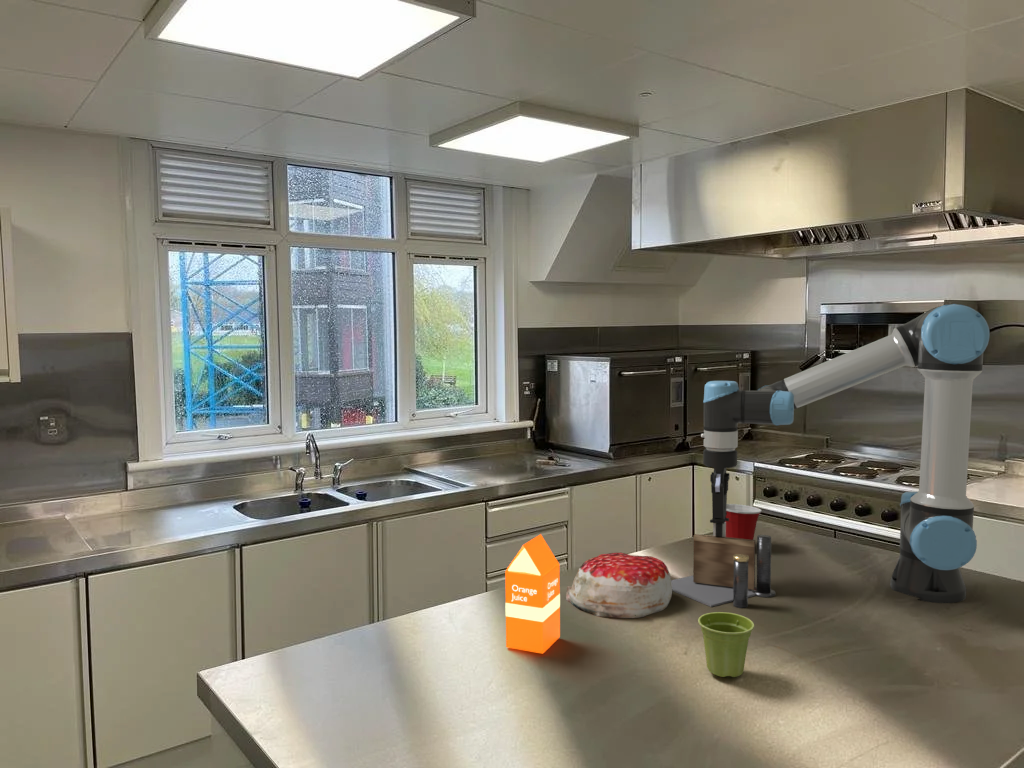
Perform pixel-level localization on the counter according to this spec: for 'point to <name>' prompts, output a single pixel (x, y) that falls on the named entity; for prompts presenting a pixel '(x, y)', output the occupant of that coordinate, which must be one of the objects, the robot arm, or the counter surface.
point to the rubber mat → (704, 591)
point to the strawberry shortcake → (621, 586)
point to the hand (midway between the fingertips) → (719, 549)
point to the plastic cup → (741, 521)
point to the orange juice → (533, 598)
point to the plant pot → (725, 642)
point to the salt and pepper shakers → (762, 573)
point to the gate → (721, 559)
